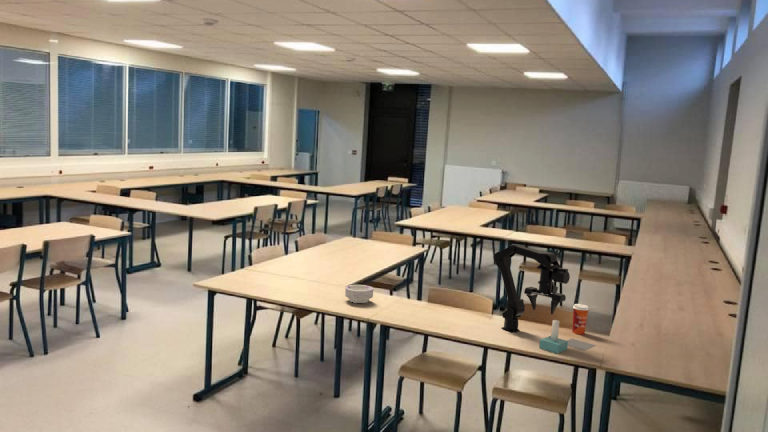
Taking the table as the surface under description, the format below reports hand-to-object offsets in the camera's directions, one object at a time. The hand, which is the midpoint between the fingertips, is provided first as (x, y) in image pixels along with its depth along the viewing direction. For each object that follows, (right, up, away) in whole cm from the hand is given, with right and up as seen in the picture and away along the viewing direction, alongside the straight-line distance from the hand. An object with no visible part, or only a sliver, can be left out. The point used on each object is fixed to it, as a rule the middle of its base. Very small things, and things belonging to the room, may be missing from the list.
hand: (542, 312), depth 288 cm
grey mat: (+15, -15, -4) cm, 21 cm away
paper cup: (+21, -13, +15) cm, 29 cm away
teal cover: (+2, -15, -12) cm, 19 cm away
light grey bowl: (-88, -2, +47) cm, 100 cm away
